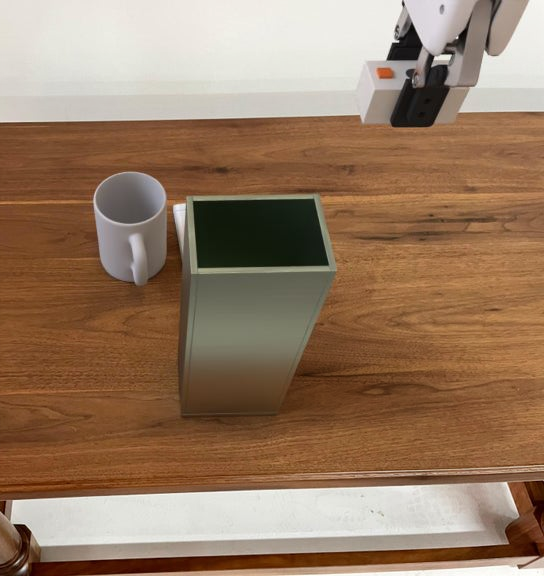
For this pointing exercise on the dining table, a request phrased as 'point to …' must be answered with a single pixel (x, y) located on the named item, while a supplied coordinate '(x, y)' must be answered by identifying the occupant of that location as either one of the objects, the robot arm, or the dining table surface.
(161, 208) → the mug
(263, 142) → the dining table surface
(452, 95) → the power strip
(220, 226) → the box
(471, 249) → the dining table surface
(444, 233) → the dining table surface
